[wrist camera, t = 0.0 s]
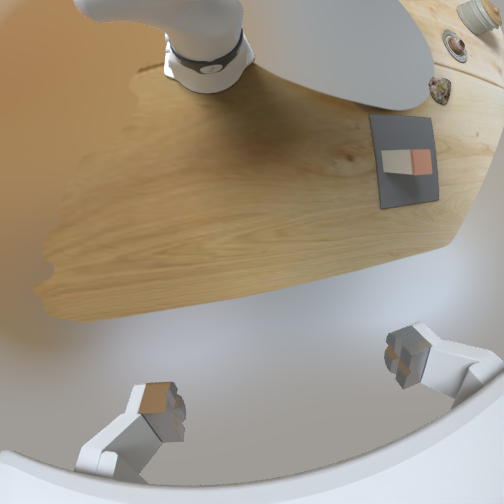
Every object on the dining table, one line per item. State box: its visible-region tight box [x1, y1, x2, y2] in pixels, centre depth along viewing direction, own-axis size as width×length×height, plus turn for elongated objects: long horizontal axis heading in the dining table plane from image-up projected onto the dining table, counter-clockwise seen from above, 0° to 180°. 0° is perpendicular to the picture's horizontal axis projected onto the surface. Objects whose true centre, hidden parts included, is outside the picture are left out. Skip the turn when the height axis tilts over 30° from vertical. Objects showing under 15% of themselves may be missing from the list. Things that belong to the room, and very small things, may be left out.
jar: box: [457, 0, 502, 34], centre depth 32 cm, size 13×13×18 cm
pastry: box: [442, 29, 467, 62], centre depth 43 cm, size 12×12×5 cm
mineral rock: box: [428, 77, 451, 104], centre depth 49 cm, size 11×4×8 cm
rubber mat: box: [369, 115, 439, 209], centre depth 55 cm, size 22×20×1 cm
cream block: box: [381, 149, 432, 175], centre depth 48 cm, size 5×5×12 cm
